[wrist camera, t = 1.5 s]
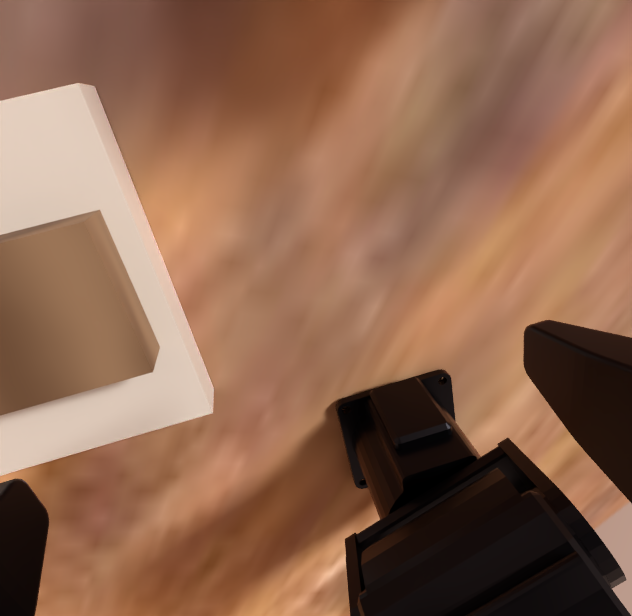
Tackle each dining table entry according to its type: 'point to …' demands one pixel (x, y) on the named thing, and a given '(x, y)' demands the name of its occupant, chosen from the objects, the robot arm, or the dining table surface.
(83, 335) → the walnut tile
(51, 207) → the deck
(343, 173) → the dining table surface
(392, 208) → the dining table surface
